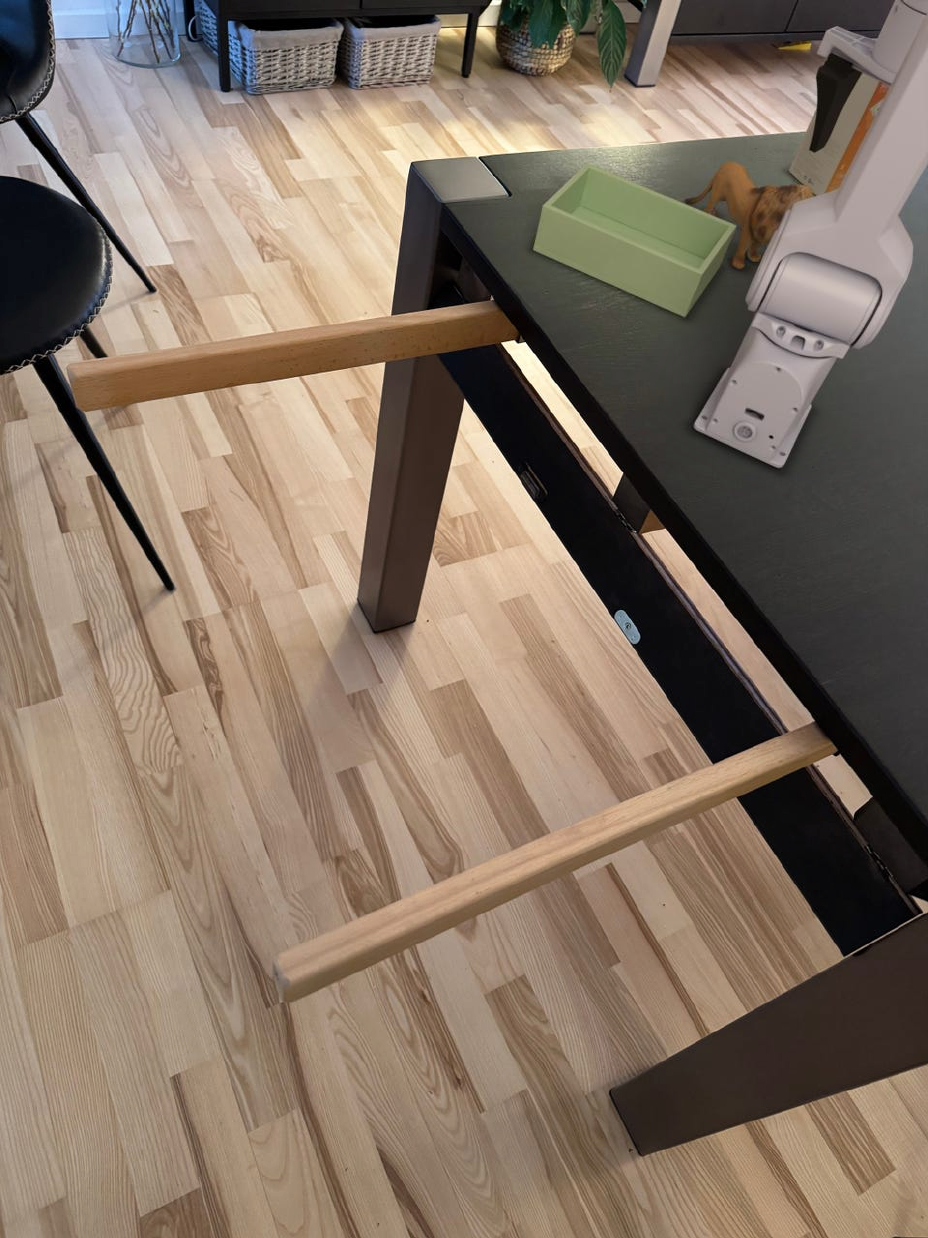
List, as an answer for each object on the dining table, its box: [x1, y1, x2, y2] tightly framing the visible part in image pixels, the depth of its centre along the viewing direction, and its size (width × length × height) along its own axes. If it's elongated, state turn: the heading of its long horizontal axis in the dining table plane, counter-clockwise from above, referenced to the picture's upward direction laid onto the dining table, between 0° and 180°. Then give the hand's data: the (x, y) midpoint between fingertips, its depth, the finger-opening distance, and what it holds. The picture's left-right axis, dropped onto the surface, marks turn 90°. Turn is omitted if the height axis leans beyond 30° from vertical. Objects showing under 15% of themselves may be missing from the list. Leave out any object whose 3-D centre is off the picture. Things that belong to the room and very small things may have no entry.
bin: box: [532, 162, 738, 318], centre depth 86 cm, size 10×16×5 cm, turn 61°
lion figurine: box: [683, 161, 814, 270], centre depth 89 cm, size 15×5×9 cm, turn 33°
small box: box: [788, 73, 890, 196], centre depth 98 cm, size 8×6×13 cm
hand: (850, 166), depth 84 cm, fingers open, 7 cm apart
